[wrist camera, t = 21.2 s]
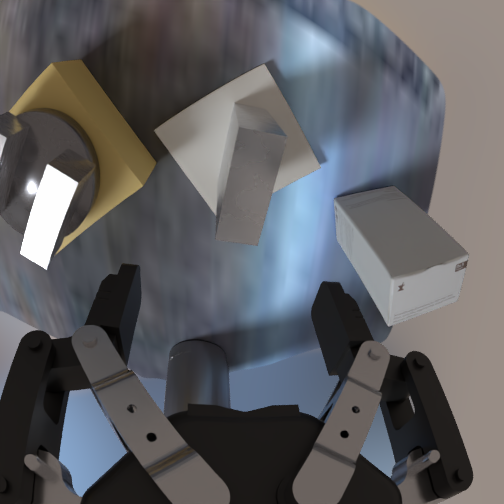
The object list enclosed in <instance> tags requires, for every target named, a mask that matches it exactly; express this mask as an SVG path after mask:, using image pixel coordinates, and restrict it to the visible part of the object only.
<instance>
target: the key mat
mask: <svg viewBox="0 0 504 504" xmlns="http://www.w3.org/2000/svg"><path fill="white" fill-rule="evenodd" d="M234 103H238V104H244V105H249V106H254V107H259V108H263V109H266V110H267V111H268V112H269V114H270V115H271V116H272V117H273V119H274V120H275V121H276V122H277V124H278V125H279V126H280V128H281V129H282V130H283V131H284V133H285V134H286V135H287V137H288V139H287V142H286V146H285V149H284V153H283V156H282V160H281V164H280V167H279V171H278V174H277V178H276V181H275V185H274V189H273V192H272V193H274V192H276V191H278V190H279V189H281V188H283V187H285V186H287V185H289V184H291V183H293V182H295V181H296V180H298V179H300V178H302V177H304V176H306V175H308V174H310V173H312V172H314V171H316V170H318V169H320V168H321V167H320V165H319V163H318V161H317V159H316V157H315V155H314V153H313V151H312V149H311V147H310V145H309V143H308V141H307V139H306V137H305V135H304V133H303V131H302V129H301V127H300V126H299V124H298V122H297V120H296V118H295V116H294V114H293V113H292V111H291V109H290V107H289V105H288V104H287V102H286V100H285V98H284V97H283V95H282V93H281V91H280V90H279V88H278V86H277V84H276V83H275V81H274V79H273V78H272V76H271V74H270V72H269V71H268V69H267V67H266V66H265V64H262V65H260V66H258V67H256V68H254V69H252V70H250V71H249V72H247V73H245V74H243V75H241V76H239V77H237V78H236V79H234V80H232V81H230V82H228V83H227V84H225V85H223V86H222V87H220V88H218V89H216V90H215V91H213V92H211V93H210V94H208V95H206V96H205V97H203V98H201V99H200V100H198V101H197V102H195V103H193V104H192V105H190V106H189V107H187V108H186V109H184V110H183V111H181V112H179V113H178V114H176V115H175V116H173V117H172V118H170V119H169V120H168V121H166V122H165V123H163V124H162V125H160V126H159V127H157V128H156V129H155V130H154V131H155V133H156V134H157V136H158V137H159V138H160V140H161V141H162V142H163V144H164V145H165V147H166V148H167V149H168V151H169V152H170V153H171V155H172V156H173V158H174V159H175V160H176V162H177V163H178V164H179V166H180V167H181V168H182V170H183V171H184V173H185V174H186V175H187V177H188V178H189V179H190V181H191V182H192V184H193V185H194V186H195V188H196V189H197V190H198V192H199V193H200V194H201V196H202V197H203V198H204V200H205V201H206V203H207V204H208V205H209V207H210V208H211V209H212V211H213V212H214V213H215V215H216V208H217V186H218V176H219V171H220V166H221V161H222V156H223V152H224V147H225V142H226V137H227V133H228V128H229V123H230V119H231V114H232V110H233V105H234Z"/></svg>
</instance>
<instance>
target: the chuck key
mask: <svg viewBox="0 0 504 504" xmlns="http://www.w3.org/2000/svg"><path fill="white" fill-rule="evenodd" d="M287 139H288V137H287V135H286V134H285V133H284V131H283V130H282V129H281V128H280V126H279V125H278V124H277V122H276V121H275V120H274V119H273V117H272V116H271V115H270V114H269V112H268V111H267V110H266V109H263V108H259V107H254V106H249V105H244V104H238V103H234V105H233V110H232V114H231V119H230V123H229V128H228V133H227V137H226V142H225V147H224V152H223V156H222V161H221V166H220V171H219V176H218V186H217V208H216V236H215V240H221V241H228V242H235V243H242V244H248V245H255V246H257V245H258V242H259V238H260V235H261V231H262V228H263V224H264V221H265V217H266V214H267V210H268V206H269V203H270V199H271V196H272V192H273V189H274V185H275V181H276V178H277V174H278V171H279V167H280V164H281V160H282V156H283V153H284V149H285V146H286V142H287Z"/></svg>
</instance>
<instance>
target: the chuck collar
mask: <svg viewBox="0 0 504 504" xmlns="http://www.w3.org/2000/svg"><path fill="white" fill-rule="evenodd" d="M99 186H100V167H99V161H98V157H97V153H96V151H95V148H94V145H93V143H92V141H91V139H90V138H89V136H88V135H87V133H86V131H85V130H84V129H83V128H82V127H81V125H80V124H79V123H77V122H76V121H75V120H74V119H73V118H71V117H70V116H69V115H67V114H65V113H63V112H61V111H58V110H55V109H51V108H36V109H31V110H29V111H26V112H24V113H21V114H19V115H17V116H15V115H13V114H12V113H10V112H6V113H4V114H2V115H0V215H1V216H2V218H3V219H4V220H5V221H6V222H7V223H8V224H9V225H10V226H11V227H12V228H14V229H15V230H16V231H18V232H19V233H21V234H23V235H25V237H24V241H23V245H22V249H21V254H23V255H24V256H26V257H28V258H29V259H31V260H32V261H34V262H36V263H37V264H39V265H41V266H42V267H44V268H46V269H47V267H48V265H49V264H50V262H51V261H52V259H53V257H54V256H55V254H56V253H57V251H58V250H59V248H60V247H61V245H62V242H63V240H64V237H66V236H68V235H70V234H71V233H73V232H74V231H75V230H76V229H77V228H78V227H79V226H80V225H81V223H82V222H83V221H84V219H85V218H86V216H87V215H88V214H89V212H90V211H91V209H92V207H93V206H94V204H95V201H96V199H97V196H98V192H99Z"/></svg>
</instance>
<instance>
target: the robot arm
mask: <svg viewBox="0 0 504 504" xmlns="http://www.w3.org/2000/svg"><path fill="white" fill-rule="evenodd" d="M140 305H141V278H140V266H139V265H133V264H124V263H123V264H122V265H121V267H120V270H119V272H118V275H114V274H109V275H108V276H107V277H106V278H105V279H104V280H103V281H102V282H101V285H100V287H99V290H98V292H97V295H96V297H95V300H94V302H93V305H92V307H91V310H90V312H89V315H88V318H87V320H86V323H85V325H84V326H83V327H81V328H79V329H78V330H76V331H75V333H74V334H73V336H71V337H68V338H60V339H51V338H50V336H49V335H48V334H47V333H46V332H44V331H40V330H36V331H31V332H29V333H27V334H26V335H25V336H24V337H23V338H22V339H21V342H20V343H19V346H18V349H17V351H16V354H15V357H14V360H13V362H12V365H11V368H10V371H9V374H8V377H7V380H6V383H5V386H4V390H3V393H2V396H1V400H0V504H437V503H440V502H442V501H444V500H446V499H448V498H450V497H452V496H455V495H456V494H459V493H460V492H462V491H464V490H466V489H468V488H469V486H470V485H471V483H472V480H473V471H472V467H471V464H470V461H469V458H468V455H467V452H466V449H465V446H464V443H463V440H462V438H461V435H460V432H459V429H458V427H457V424H456V421H455V419H454V416H453V414H452V411H451V409H450V406H449V404H448V401H447V399H446V396H445V394H444V391H443V389H442V387H441V384H440V382H439V380H438V377H437V375H436V373H435V371H434V369H433V366H432V364H431V362H430V360H429V359H428V358H427V356H425V355H424V354H422V353H421V352H417V351H412V352H410V353H408V354H407V356H406V357H405V358H402V357H397V356H393V355H389V352H388V350H387V349H386V348H385V347H384V346H383V345H382V344H380V343H378V342H376V341H374V340H373V337H372V335H371V333H370V331H369V329H368V326H367V324H366V322H365V320H364V318H363V315H362V313H361V311H360V309H359V307H358V305H357V303H356V301H355V300H354V299H353V298H352V297H351V296H350V295H349V294H345V293H344V290H343V288H342V286H341V284H340V283H339V282H327V281H323V282H322V283H321V285H320V288H319V290H318V293H317V296H316V298H315V301H314V303H313V306H312V311H311V317H312V321H313V324H314V328H315V331H316V334H317V337H318V341H319V344H320V347H321V350H322V354H323V357H324V360H325V363H326V367H327V371H328V374H329V375H338V376H339V381H338V382H337V384H336V386H335V388H334V390H333V391H332V394H331V395H330V397H329V399H328V401H327V403H326V405H325V407H324V408H323V410H322V412H321V413H320V415H319V417H318V418H315V417H313V416H311V415H309V414H305V413H302V412H299V407H298V405H273V406H268V407H265V408H260V409H256V410H252V411H248V412H242V411H238V410H233V409H231V408H230V388H229V365H228V364H227V363H226V355H225V353H224V351H223V350H222V349H221V348H220V347H218V346H216V345H214V344H212V343H209V342H205V341H197V340H196V341H185V342H182V343H179V344H177V345H175V346H174V347H173V348H172V349H171V351H170V354H169V363H168V372H167V381H166V391H165V403H164V414H163V413H162V411H161V410H160V409H159V407H158V406H157V405H156V403H155V402H154V400H153V399H152V398H151V396H150V395H149V393H148V392H147V390H146V389H145V388H144V386H143V385H142V383H141V382H140V380H139V379H138V377H137V376H136V374H135V373H134V372H133V371H132V370H130V371H129V370H128V368H127V367H126V366H127V364H128V359H129V354H130V349H131V344H132V340H133V335H134V331H135V326H136V322H137V318H138V314H139V309H140ZM89 388H90V389H91V391H92V393H93V395H94V397H95V399H96V400H97V402H98V404H99V406H100V408H101V409H102V411H103V413H104V415H105V416H106V418H107V420H108V421H109V423H110V425H111V427H112V429H113V430H114V432H115V434H116V435H117V437H118V438H119V440H120V442H121V443H122V445H123V447H124V448H125V450H126V451H127V453H126V454H125V455H124V456H123V457H122V458H121V459H120V460H119V461H118V462H117V463H116V464H114V465H113V466H112V467H111V468H110V469H109V470H108V471H107V472H106V473H105V474H104V475H103V476H101V477H100V478H99V479H98V480H97V481H96V482H95V483H94V484H93V485H92V486H91V487H89V488H88V489H87V491H86V492H85V493H84V495H83V497H79V496H78V495H77V494H76V492H75V491H74V488H73V485H72V477H71V474H70V472H69V470H68V469H67V468H66V467H65V466H64V465H63V464H62V463H61V462H60V461H59V452H60V445H61V438H62V431H63V425H64V419H65V413H66V407H67V402H68V397H69V392H70V391H71V390H81V389H89ZM409 396H411V399H412V401H413V404H414V408H415V413H414V412H413V409H412V406H411V403H410V400H409ZM379 404H380V407H381V410H382V414H383V417H384V421H385V424H386V428H387V432H388V435H389V439H390V442H391V446H392V450H393V454H394V458H395V462H396V464H395V465H394V467H393V470H392V476H391V478H389V477H388V476H386V475H385V474H384V473H383V472H382V471H380V470H379V469H378V468H377V467H375V466H374V465H373V464H372V463H370V462H369V461H368V460H367V459H366V458H364V457H363V456H362V455H361V454H360V451H361V448H362V446H363V444H364V441H365V439H366V437H367V434H368V432H369V429H370V427H371V424H372V422H373V419H374V416H375V414H376V411H377V408H378V406H379Z"/></svg>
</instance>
